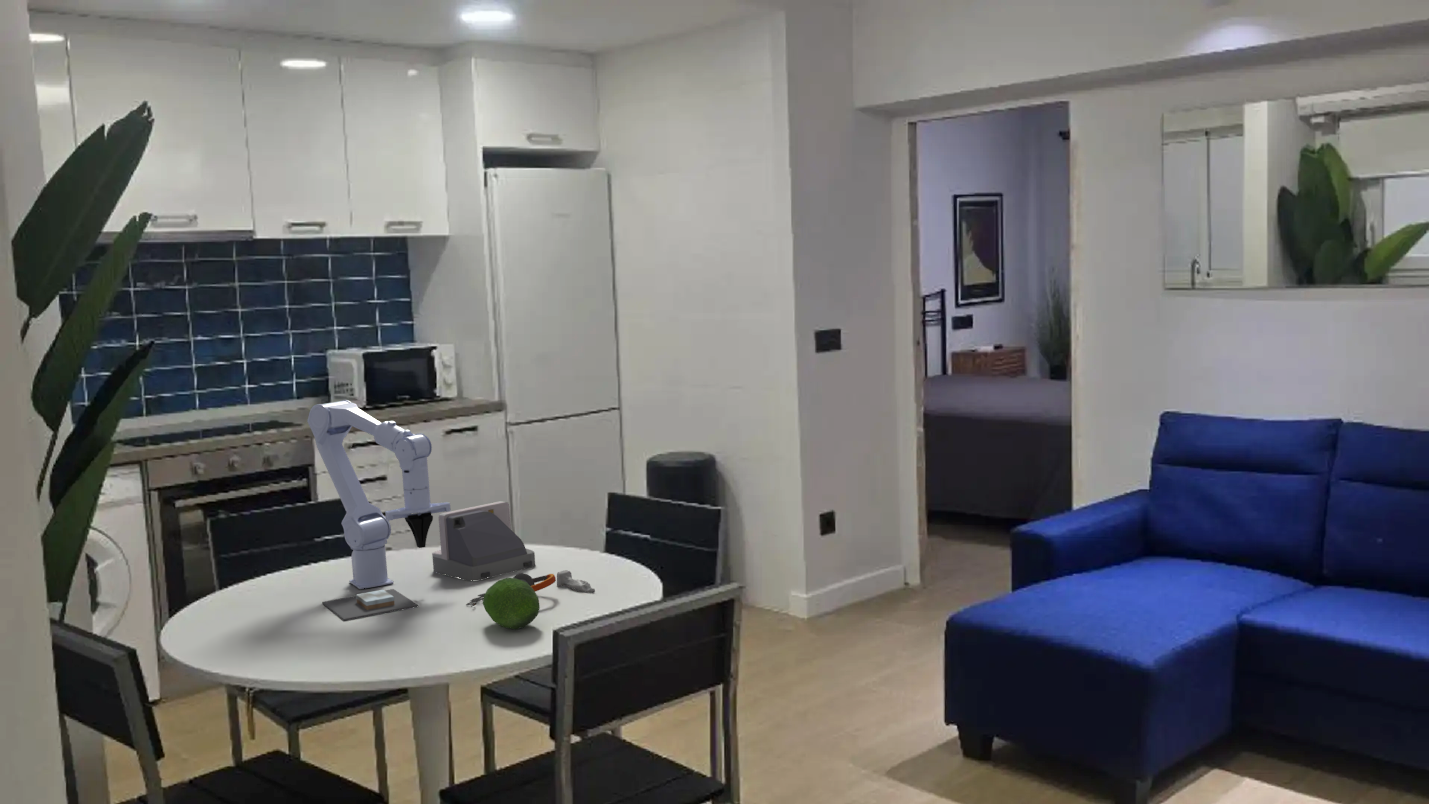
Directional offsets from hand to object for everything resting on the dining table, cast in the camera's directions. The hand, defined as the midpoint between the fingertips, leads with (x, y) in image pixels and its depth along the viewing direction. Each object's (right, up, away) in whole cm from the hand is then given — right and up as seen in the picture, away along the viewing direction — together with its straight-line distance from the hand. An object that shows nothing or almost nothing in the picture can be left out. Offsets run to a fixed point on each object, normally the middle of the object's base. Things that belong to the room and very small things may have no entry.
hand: (421, 546), depth 282 cm
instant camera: (+11, -8, +18) cm, 23 cm away
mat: (-9, -12, -10) cm, 18 cm away
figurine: (+36, -9, -6) cm, 38 cm away
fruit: (+26, -12, -33) cm, 43 cm away
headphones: (+23, -10, -12) cm, 28 cm away
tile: (-10, -11, -13) cm, 19 cm away
